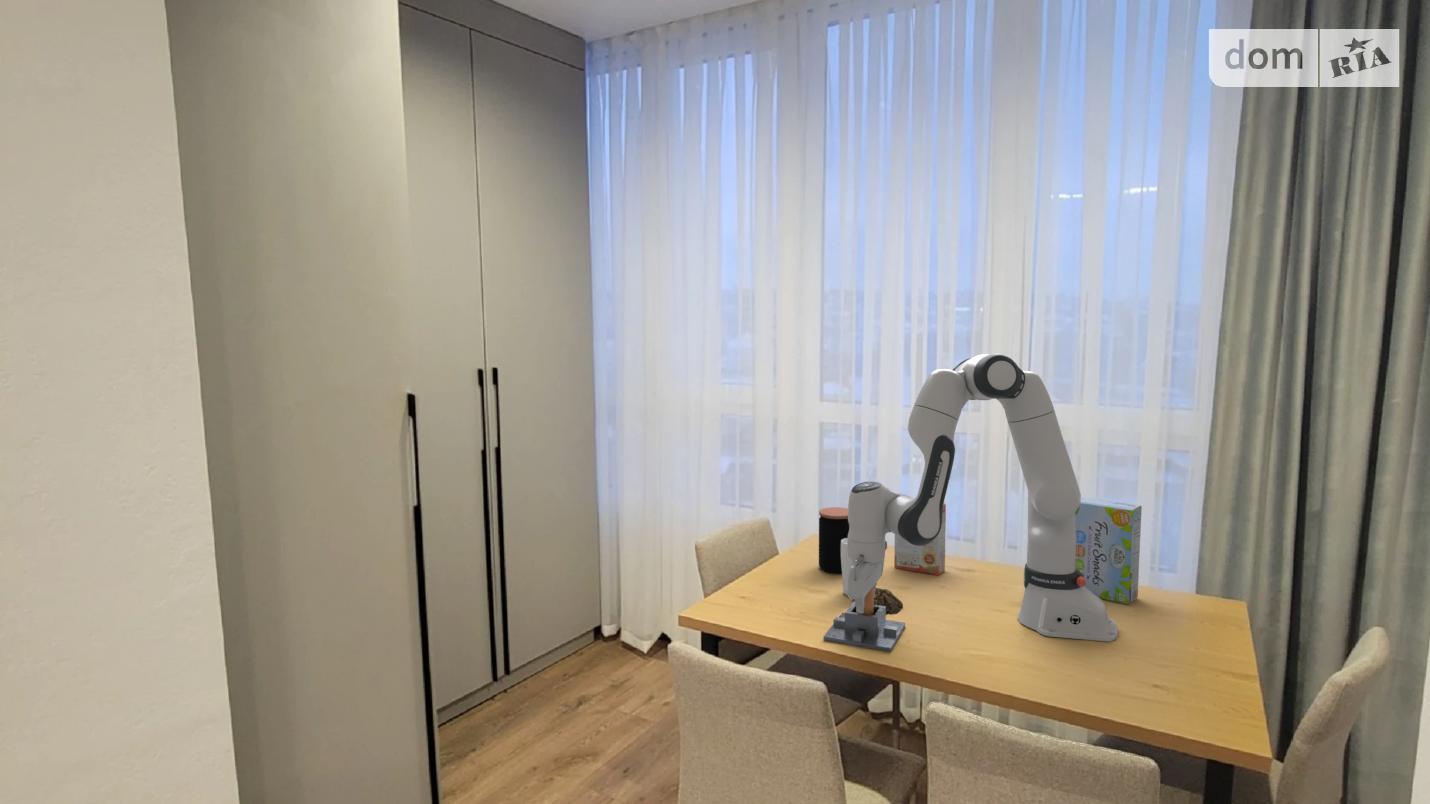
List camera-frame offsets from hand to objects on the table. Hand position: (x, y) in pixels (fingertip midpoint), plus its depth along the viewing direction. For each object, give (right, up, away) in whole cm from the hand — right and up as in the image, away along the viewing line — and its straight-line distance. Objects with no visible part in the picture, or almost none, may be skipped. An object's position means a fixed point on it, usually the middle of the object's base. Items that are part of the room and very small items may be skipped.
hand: (865, 605), depth 186 cm
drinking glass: (+2, -4, +27) cm, 28 cm away
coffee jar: (0, -2, +48) cm, 48 cm away
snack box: (+68, -4, +26) cm, 73 cm away
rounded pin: (0, -6, +1) cm, 6 cm away
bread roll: (+7, -6, +19) cm, 21 cm away
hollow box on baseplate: (0, -7, +1) cm, 7 cm away
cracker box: (+25, -2, +47) cm, 54 cm away
